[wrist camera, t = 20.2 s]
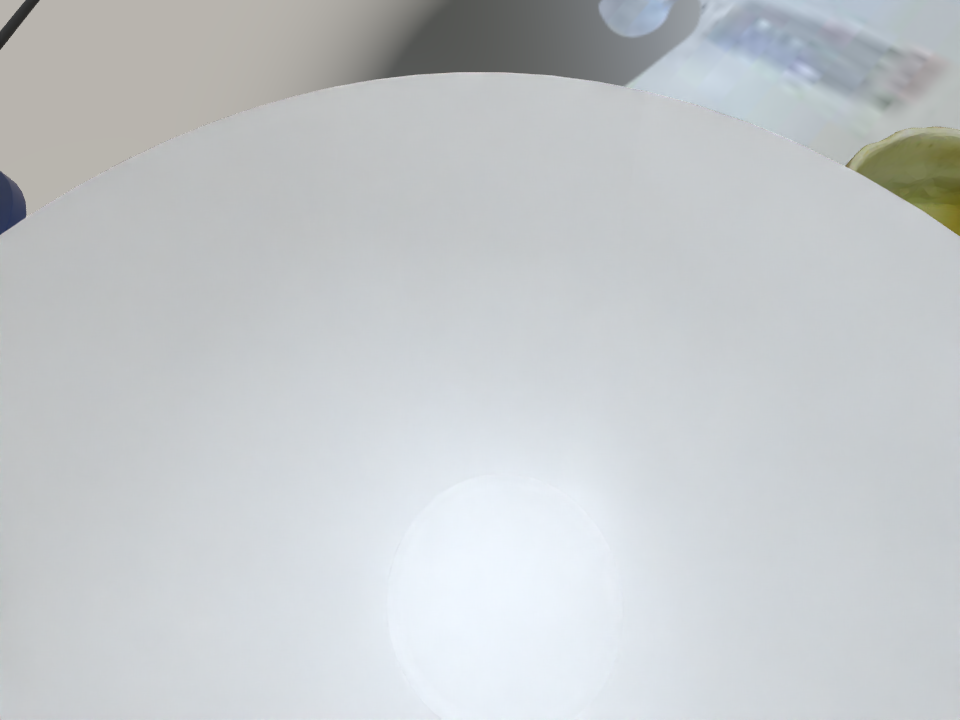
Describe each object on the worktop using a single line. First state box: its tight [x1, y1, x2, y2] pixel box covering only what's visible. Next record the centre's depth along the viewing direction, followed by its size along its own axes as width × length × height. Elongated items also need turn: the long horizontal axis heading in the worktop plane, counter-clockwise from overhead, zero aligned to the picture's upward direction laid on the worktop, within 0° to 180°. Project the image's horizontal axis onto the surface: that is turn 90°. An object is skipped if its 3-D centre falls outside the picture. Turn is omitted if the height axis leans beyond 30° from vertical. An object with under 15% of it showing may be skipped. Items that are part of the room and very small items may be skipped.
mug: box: [845, 127, 960, 236], centre depth 18 cm, size 12×10×10 cm
